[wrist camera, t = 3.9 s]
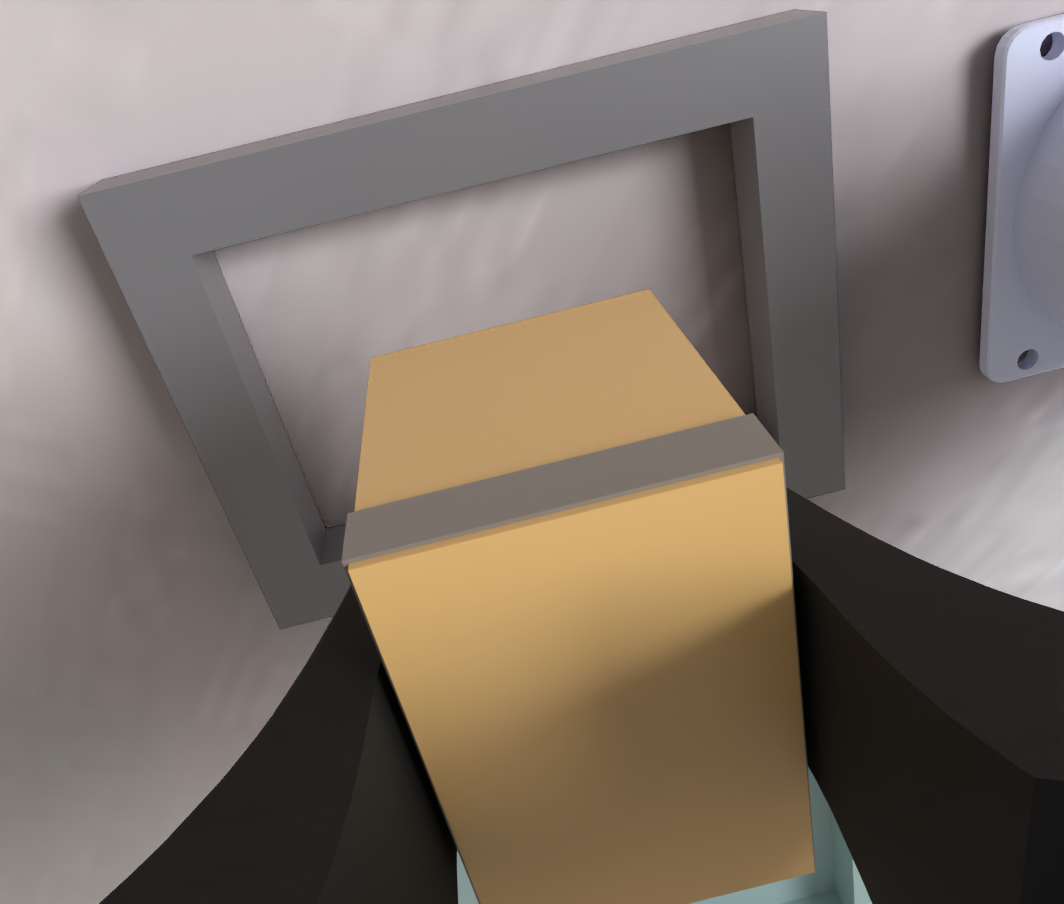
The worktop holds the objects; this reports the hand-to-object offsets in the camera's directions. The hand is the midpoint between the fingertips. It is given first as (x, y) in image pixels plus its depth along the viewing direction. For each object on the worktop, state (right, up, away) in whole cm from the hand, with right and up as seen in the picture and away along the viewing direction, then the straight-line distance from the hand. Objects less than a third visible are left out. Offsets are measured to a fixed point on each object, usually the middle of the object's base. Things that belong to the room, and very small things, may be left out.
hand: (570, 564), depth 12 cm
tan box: (0, +1, +2) cm, 2 cm away
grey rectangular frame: (-1, +4, +8) cm, 9 cm away
